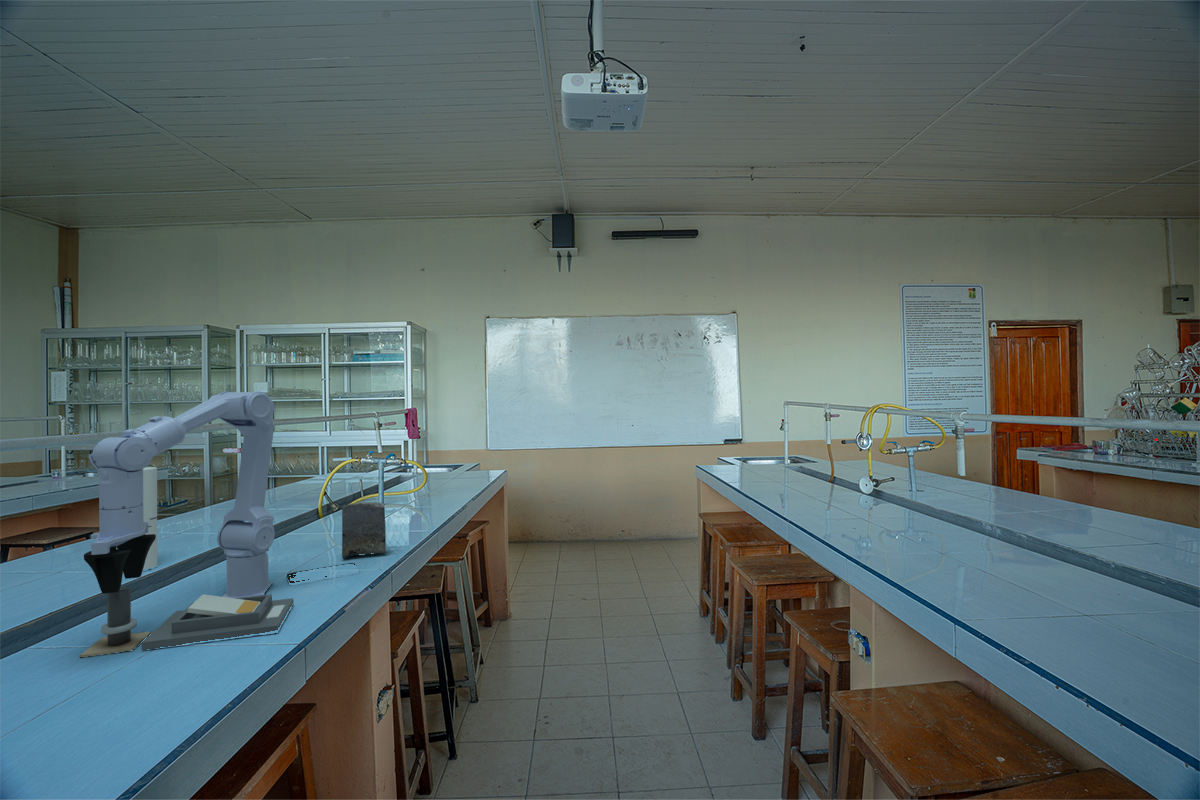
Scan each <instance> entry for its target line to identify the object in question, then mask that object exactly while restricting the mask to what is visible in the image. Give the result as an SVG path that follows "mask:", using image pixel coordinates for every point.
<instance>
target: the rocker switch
mask: <svg viewBox="0 0 1200 800" xmlns="http://www.w3.org/2000/svg"><path fill="white" fill-rule="evenodd" d="M193 602H194V603H193ZM193 602H192V603H193V604H192V603H191V604H192V605H191V604H190V605H191V606H190V605H189V606H190V607H189V606H188V607H189V608H188V607H187V608H188V611H187V613H196V614H204V615H212V616H221V615H230V614H238V613H247V612H255V611H256V610H257V608H258V607H259V605H260V604H261V602H258V601H250V600H243V599H235V598H227V597H222V596H219V595H218V596H217V595H210V594H201V595H200V596H199V597H198V598H197V599H196V600H195V601H193Z"/></svg>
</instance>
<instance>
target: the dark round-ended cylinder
mask: <svg viewBox="0 0 1200 800" xmlns="http://www.w3.org/2000/svg"><path fill="white" fill-rule="evenodd" d="M106 594H107V596H106V597H107V601H106V602H107V603H106V604H107V609H106V610H107V619H106V620H107V621H106V622H107V623H105V624H103V625H102V626H101V627H100V633H101V634H102V635H107V637H108V646H119V645H122V644H125V643H128V642H129V641H131V634H132V629H134V628H135V627H137V626H138V625H137V624H138V619H137V618H134V617H133V618H132V617H131V616H132V614H131V613H132V612H131V611H132V609H131V608H132V603H131V602H132V597H131V596H132V587H128V586H125V587H124V586H123V587H120V590H119V591H118V592H115V593H106Z"/></svg>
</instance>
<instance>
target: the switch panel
mask: <svg viewBox="0 0 1200 800" xmlns="http://www.w3.org/2000/svg"><path fill="white" fill-rule="evenodd" d="M235 599H243V600H250V601H258V602H261V604H260V605H259V607H258V608H257V610H256V611H255V612H247V613H238V614H230V615H221V616H212V615H204V614H196V613H187V611H188V608H189V607H190V606H191V605H192V604H193V603H194V602H195V601H193V602H192V603H191V604H190V605H189V606H187V608H185V609H184V610H176V611H174V612H173V613H172V614H171V615H170V616H169V617H168V618H167V619H166V620H165V621H163V622H162V623H161V625H159V626H157V628H156V629H155V630H153V632H151V635H150V636H148V637H147V638H146V639H145V640H144V641H143V642H142V643H141V651H142V650H147V649H155V648H160V647H168V646H176V645H182V644H186V643H193V642H200V641H208V640H215V639H224V638H231V637H237V636H238V637H239V636H244V635H250V634H259V633H265V632H270V631H275V630H278V628H279V627H280V625H281V623H282V621H283V620H284V618H285V616H286V614H287V612H288V611H289V609H290V607H291V606H292V604H293V605H294V597H292V598H283V599H274V600H273V594H272V593H269V594H264V595H258V596H249V597H240V598H235Z"/></svg>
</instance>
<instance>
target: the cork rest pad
mask: <svg viewBox="0 0 1200 800" xmlns="http://www.w3.org/2000/svg"><path fill="white" fill-rule="evenodd" d="M150 634H152V630H151V631H150V630H149V631H144V632H135V633H131V641H129V642H128V643H125V644H122V645H119V646H108V636H103V637H101V638H100V639H98V640H97V641H96V642H94V644H92V645H91V646H89V647H88V648H86V649H85V651H83V652H81V654H79V658H80V657H85V658H89V657H88V656H93V657H96V656H95V655H100V656H102V655H101V654H108V655H111V654H110V653H116V652H123V651H130V650H133V649H134V648H135V647H137V646H138V645H139V644H140V643H141V642H142V641H143V640H144V639H145V638H146V637H148V636H149V635H150ZM141 644H142V643H141ZM141 644H140V645H141ZM140 645H139V646H140ZM139 646H138V647H139ZM138 647H137V648H138ZM134 650H135V649H134ZM134 650H133V651H134ZM116 654H117V653H116Z"/></svg>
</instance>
